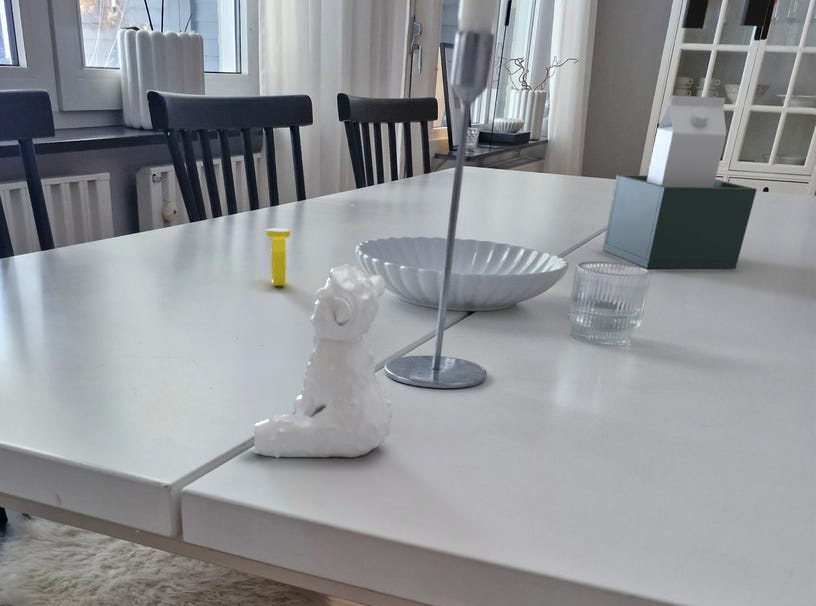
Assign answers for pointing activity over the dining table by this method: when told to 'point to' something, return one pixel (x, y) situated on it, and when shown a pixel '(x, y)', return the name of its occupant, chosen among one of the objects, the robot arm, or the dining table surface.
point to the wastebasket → (677, 223)
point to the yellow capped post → (278, 254)
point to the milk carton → (689, 143)
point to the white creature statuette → (335, 379)
